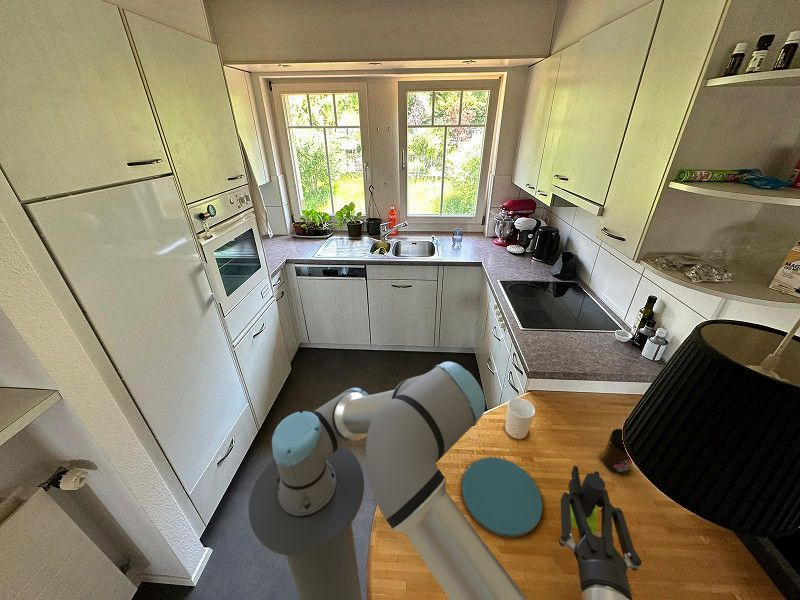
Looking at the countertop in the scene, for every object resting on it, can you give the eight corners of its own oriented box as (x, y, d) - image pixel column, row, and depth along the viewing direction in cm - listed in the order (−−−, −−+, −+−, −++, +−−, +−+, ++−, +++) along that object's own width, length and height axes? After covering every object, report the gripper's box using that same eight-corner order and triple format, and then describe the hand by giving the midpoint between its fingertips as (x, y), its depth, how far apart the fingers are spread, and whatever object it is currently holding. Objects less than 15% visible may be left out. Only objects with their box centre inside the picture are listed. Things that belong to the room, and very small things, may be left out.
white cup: (499, 432, 102) (503, 409, 97) (508, 416, 107) (513, 394, 103) (524, 445, 98) (530, 422, 93) (532, 428, 103) (538, 405, 98)
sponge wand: (562, 521, 72) (578, 486, 66) (565, 498, 76) (580, 463, 70) (593, 536, 69) (612, 501, 63) (594, 511, 74) (611, 475, 68)
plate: (450, 509, 81) (450, 507, 81) (475, 449, 96) (475, 446, 96) (533, 555, 72) (534, 553, 72) (546, 481, 88) (547, 478, 87)
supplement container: (605, 472, 90) (617, 447, 85) (597, 451, 95) (608, 427, 91) (632, 476, 88) (646, 451, 84) (622, 455, 94) (634, 430, 89)
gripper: (548, 587, 58) (542, 471, 78) (656, 628, 53) (621, 494, 73) (557, 567, 55) (549, 451, 74) (674, 608, 50) (632, 473, 69)
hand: (584, 472), depth 74 cm, fingers closed on sponge wand, 4 cm apart
